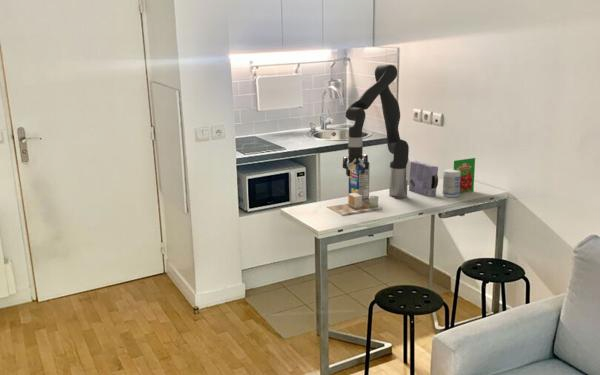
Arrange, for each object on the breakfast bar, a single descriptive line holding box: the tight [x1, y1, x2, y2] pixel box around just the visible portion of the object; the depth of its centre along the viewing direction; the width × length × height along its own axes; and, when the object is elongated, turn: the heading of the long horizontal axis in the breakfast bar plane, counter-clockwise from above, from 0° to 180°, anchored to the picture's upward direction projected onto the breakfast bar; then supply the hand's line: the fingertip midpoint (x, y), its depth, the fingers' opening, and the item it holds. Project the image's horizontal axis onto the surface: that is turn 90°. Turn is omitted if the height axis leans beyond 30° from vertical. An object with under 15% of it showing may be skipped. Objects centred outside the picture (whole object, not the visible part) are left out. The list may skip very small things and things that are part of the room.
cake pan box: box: [408, 160, 439, 198], centre depth 374 cm, size 19×5×18 cm, turn 34°
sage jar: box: [369, 195, 379, 208], centre depth 345 cm, size 4×4×6 cm
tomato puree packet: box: [453, 157, 476, 194], centre depth 373 cm, size 15×1×20 cm, turn 116°
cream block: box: [347, 193, 363, 208], centre depth 350 cm, size 7×5×6 cm, turn 26°
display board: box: [326, 200, 383, 217], centre depth 346 cm, size 24×18×2 cm
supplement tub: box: [442, 168, 461, 198], centre depth 369 cm, size 10×10×15 cm
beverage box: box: [348, 159, 370, 201], centre depth 363 cm, size 7×11×22 cm, turn 26°
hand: (355, 175), depth 346 cm, fingers open, 8 cm apart
